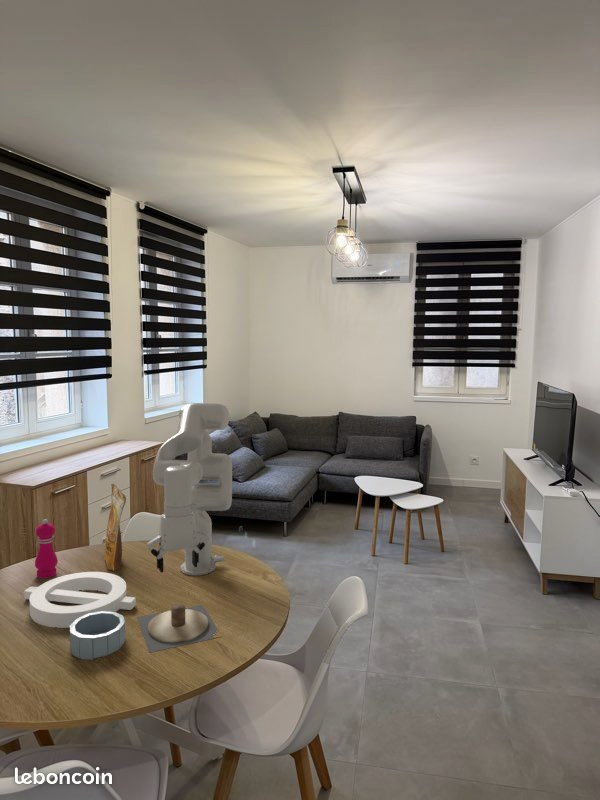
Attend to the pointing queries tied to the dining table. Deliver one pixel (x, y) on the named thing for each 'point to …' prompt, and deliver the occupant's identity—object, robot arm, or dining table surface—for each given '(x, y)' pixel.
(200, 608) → the mat
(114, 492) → the pancake mix bag
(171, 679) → the dining table surface
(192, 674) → the dining table surface
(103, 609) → the ring with crossbar
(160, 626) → the lid
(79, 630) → the bowl
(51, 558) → the pepper mill
